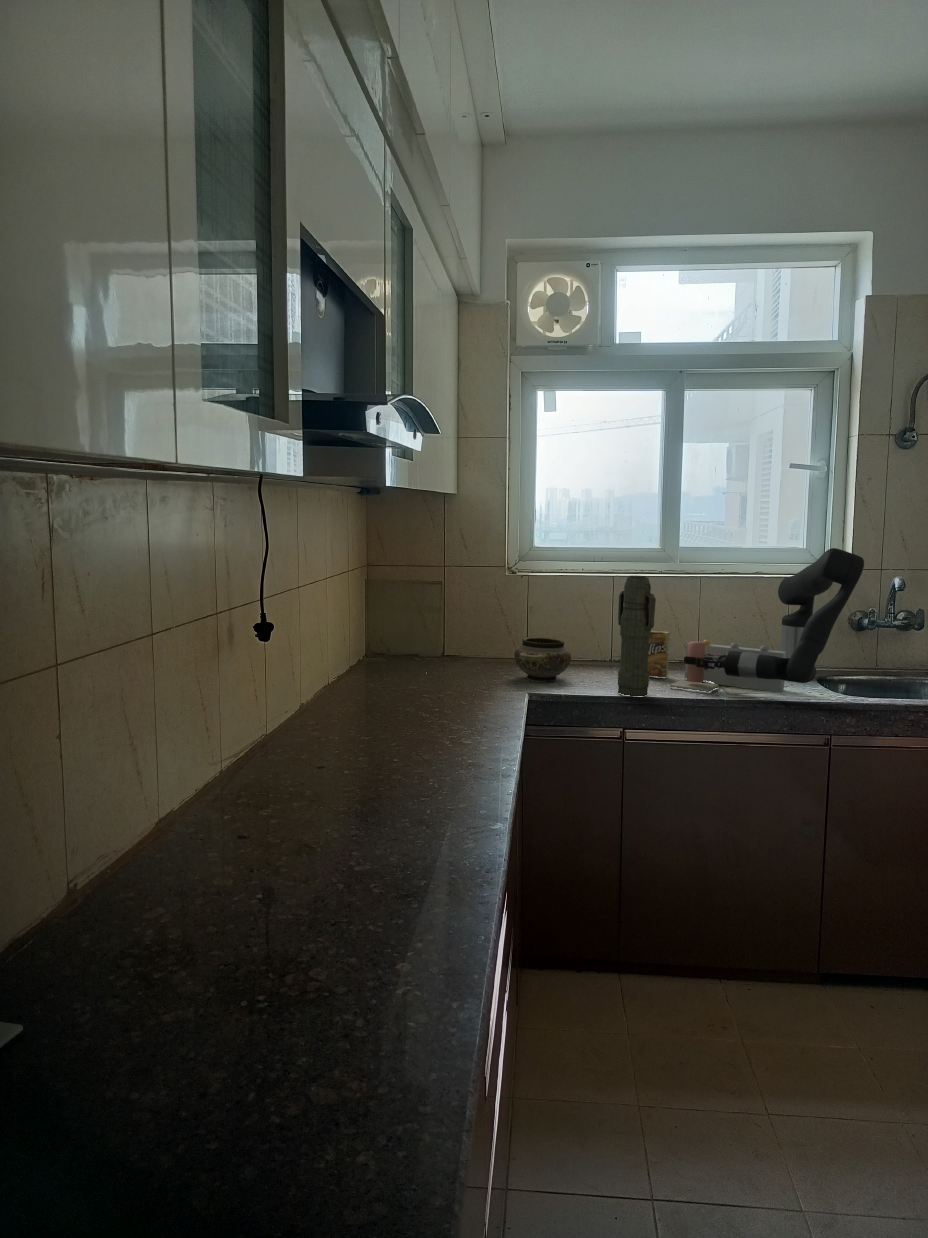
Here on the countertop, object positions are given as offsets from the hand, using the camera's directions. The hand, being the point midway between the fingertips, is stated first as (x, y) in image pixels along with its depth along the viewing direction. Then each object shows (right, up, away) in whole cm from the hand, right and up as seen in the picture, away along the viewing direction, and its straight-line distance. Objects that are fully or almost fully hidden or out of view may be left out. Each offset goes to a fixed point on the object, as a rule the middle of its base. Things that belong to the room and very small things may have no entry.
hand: (687, 658), depth 266 cm
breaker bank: (+16, -9, +7) cm, 19 cm away
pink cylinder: (+2, -7, -1) cm, 7 cm away
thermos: (-19, -10, -10) cm, 24 cm away
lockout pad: (+2, -9, 0) cm, 9 cm away
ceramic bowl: (-44, -7, +9) cm, 46 cm away
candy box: (-7, -7, +17) cm, 20 cm away
